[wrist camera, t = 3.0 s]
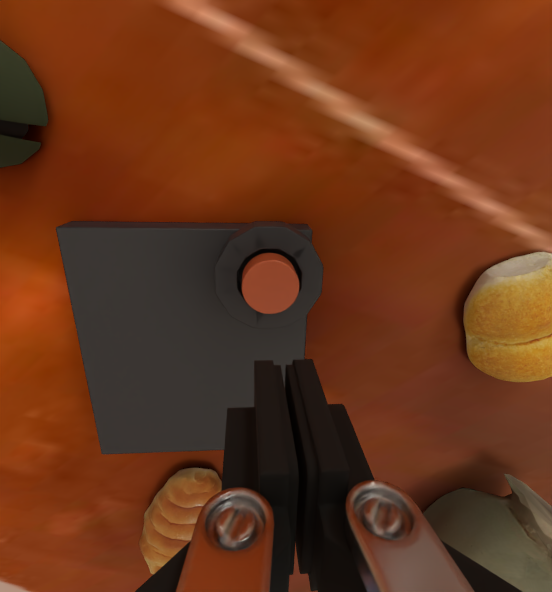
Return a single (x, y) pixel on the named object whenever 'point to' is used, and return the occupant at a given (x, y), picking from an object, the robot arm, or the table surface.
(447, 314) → the table surface
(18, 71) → the character mug
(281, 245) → the scale
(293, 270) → the button
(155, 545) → the pastry
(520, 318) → the bread roll
